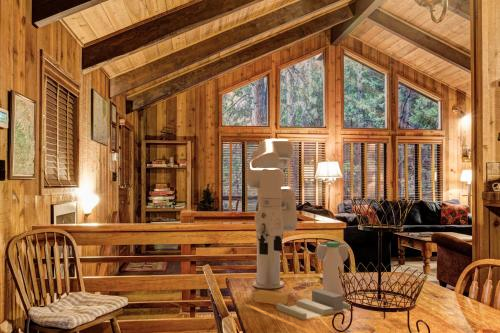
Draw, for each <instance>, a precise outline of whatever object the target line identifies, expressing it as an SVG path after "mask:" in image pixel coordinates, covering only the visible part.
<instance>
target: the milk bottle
mask: <svg viewBox="0 0 500 333" xmlns="http://www.w3.org/2000/svg"><path fill="white" fill-rule="evenodd" d="M339 243H340V242H337V241H327V254H326V256H325V259H324V262H322V275H323V279H322V290H326V291H329V292H332V293H336V294H339V295H342V296H344V294H345V292H344V291H345V290H344V291H343V288H342V285H341V281H340V278H339V273H338V267H340V268H341V269H342V270H343V272H344V262H342V259H341V257H340V254H339V250H338V249H339Z"/></svg>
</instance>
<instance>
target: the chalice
mask: <svg viewBox="0 0 500 333" xmlns="http://www.w3.org/2000/svg"><path fill="white" fill-rule="evenodd" d="M327 242H328V241H327ZM327 242H326V241H325V242H320V243H318V245H317V247H316V257H317V259H318V260H319V261H321V262H322V263H323V262H324V259H325V256H326V254H327ZM338 243H339V249H338V250H339V254H340V257H341V259H342V262H343V263H344V262H345V261H347V259H348V258H349V249H348V247H347V245H346V243H343V242H338ZM318 278H320V279H322V280H323V274H320V275H318Z"/></svg>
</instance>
